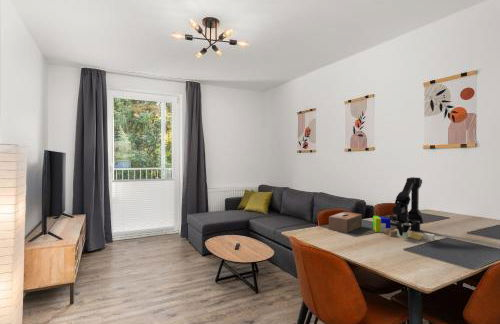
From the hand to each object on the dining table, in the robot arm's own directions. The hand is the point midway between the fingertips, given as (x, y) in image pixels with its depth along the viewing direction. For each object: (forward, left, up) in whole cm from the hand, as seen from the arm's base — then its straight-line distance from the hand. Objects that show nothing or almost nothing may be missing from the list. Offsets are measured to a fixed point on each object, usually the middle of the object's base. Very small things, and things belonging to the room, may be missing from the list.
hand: (402, 235), depth 197 cm
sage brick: (0, 0, -1) cm, 1 cm away
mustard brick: (-5, +6, -1) cm, 8 cm away
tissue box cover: (+17, -36, -2) cm, 40 cm away
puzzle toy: (-1, -18, -1) cm, 18 cm away
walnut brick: (+4, -7, -1) cm, 8 cm away
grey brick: (-11, +11, -1) cm, 16 cm away
